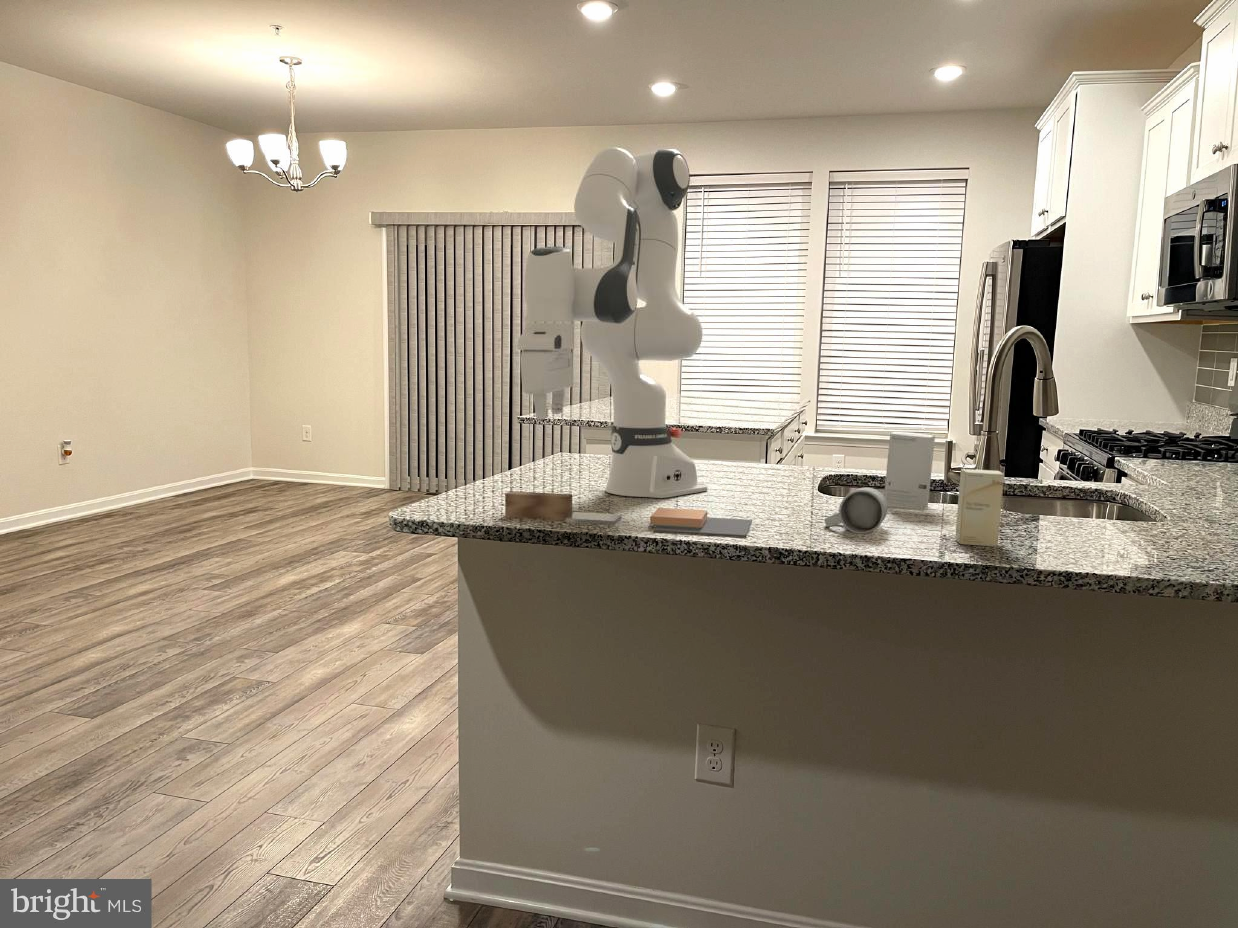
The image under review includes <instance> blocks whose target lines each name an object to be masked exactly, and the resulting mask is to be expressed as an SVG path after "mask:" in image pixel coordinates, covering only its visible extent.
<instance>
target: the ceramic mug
mask: <svg viewBox="0 0 1238 928" xmlns="http://www.w3.org/2000/svg"><path fill="white" fill-rule="evenodd" d="M888 508H889V507H888V506H887V502H886V499H885V498H884V494H882V493H881V492H880V491H879V490H877V489H875V488H872V487H860V488H857V489H855V490H853V491H851V492H849V493H847V494H846V495H845V496H844V497H843V498H842V500H841V501H840V504H839V508H838V512H836V513H834V514H832V515H829V516H826V517H825V518H824V523H825V527H827V528H829V527H834V526H837V525H840V524H842V525H843V526H844V527H845V528H846V529H847V530H848V531H849V532H851V533H855V534H857V535H867V534H871V533H873V532H876V530H877V529H878V528H879V527H880V526H881V525H882V523H883V521H884V520H885V519H886V516H887V514H888V510H889V509H888Z"/></svg>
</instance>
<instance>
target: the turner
mask: <svg viewBox="0 0 1238 928" xmlns="http://www.w3.org/2000/svg"><path fill="white" fill-rule="evenodd" d="M504 500H505V502H504V504H505V507H504V508H505V509H504V510H505V511H504V512H505V513H504V514H505V518H518V519H534V520H551V521H565V523H568V524H569V523H570V524H587V525H603V526H604V525H605V526H616V524H618V523H619V522H620V521H621V520H622V518H623V517H622V516H623V514H620V513H619V514H617V513H615V514H614V513H597V512H580V511H574V512H573V494H572V493H571V494H569V493H554V492H553V493H552V492H532V491H531V492H530V491H518V490H517V491H513V490H510V491H508V492H506V493H505V495H504Z"/></svg>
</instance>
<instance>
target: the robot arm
mask: <svg viewBox="0 0 1238 928" xmlns="http://www.w3.org/2000/svg"><path fill="white" fill-rule="evenodd" d="M690 180H691V174H690V169H689V166H688V163H687V160H686V159H685V157H684V155H683V154H682V153H680V151H678V150H677V149H674V148H673V149H672V148H664V149H663V148H662V149H658V150H657V151H651V152H645V153H641V154H640V153H639V154H636V155H632V154H631V153H630V152H628V151H627V150H626V149H623V148H619V147H614V146H613V147H608V148H604V149H602V150H601V151H599V152H598V153H597V154H596V156H595V157H594V158H593V160H592V161H591V163H590V164H589V166H588V167H587V169H586V171H585V172H584V175H583V177H582V179H581V182H580V184H579V187H578V189H577V192H576V195H575V198H574V205H573V206H574V213H575V214H574V215H575V217H576V220H577V221H578V223H579V225H580V226H581V228H583V229H584V230H585V231H586V232H587V233H589V234H590V235H591V236H593V237H595V238H597V239H600V240H604V241H608V242H612V243H613V244H615V247H614V255H613V263H612V264H610V265H608V266H603V267H600V268H599V267H598V268H595V267H593V268H592V267H591V268H590V267H589V268H585V267H584V268H578V267H577V268H576V267H575V265H573V258H572V252H571V250H570V249H569V248H567V247H565V246H547V247H544V246H543V247H536V248H533V249H532V250H530V251H529V252H528V255H527V259H526V263H525V272H524V292H523V293H524V300H525V303H526V314H525V317H524V329H523V332H522V334H520V336H518V339H517V347H518V350H519V351H521V354H520V373H521V374H520V375H521V376H520V377H521V384H522V389H523V392H524V394H525V395H532V401H533V405H534V408H535V419H537V420H545V419H547V418H548V417H549V414H548V413H549V408H547V400H548V394H550V393H551V394H552V403H551V413H552V414H553V415H560V414H562V413H563V411H564V408H563V407H564V400H565V396H566V389H569V388H571V387H573V384H574V367H573V366H574V363H573V362H574V361H573V352H572V350H573V349H575V322H576V321H577V322H582V324H581V326H580V340H581V344H582V346H583V348H584V350H585V351H586V353H588V354H589V356H591V357H592V358H593V359H594V360H595V361H597V362H598V364H600V366H601V368H602V369H603V371H604V372H605V374H606V376H607V378H608V381H609V383H610V388H611V392H612V393H611V394H612V403H613V404H612V405H613V406H612V407H613V409H612V410H613V425H612V426H611V431H610V433H611V436H610V440H611V441H610V443H611V444H610V445H611V451H612V453H611V461H610V470H609V474H608V478H607V482H606V485H605V490H604V491H605V492H606V493H608V494H609V493H610V494H614V495H617V496H623V497H625V496H626V497H639V498H641V497H642V498H644V497H645V498H654V499H655V498H657V499H666V498H672V497H677V496H683V495H688V494H695V493H700V492H701V493H702V492H707V491H708V485H706V483H703V482H701V481H700V482H699V481H698V475H697V473H698V471H697V467H696V464H695V462H694V461H693V459H691V458H690V457H689V456H688V455H687V454H685V453H684V452H683V451H682V450H681V449H680V448H678V447H677V446H676V445H675V444H673V443H672V442H673V440H672V438H676V439H679V438H681V436H682V430H681V429H680V428H675V427H672V428H669V427H668V426H666V413H667V411H666V410H667V405H666V403H667V402H666V401H667V395H666V390H665V389H664V387H663V386H662V384H660V382H658V381H657V380H655V379H653V378H652V377H649V376H647V375H646V374H644V373H643V371H642V370H641V367H640V361H661V362H662V361H663V362H666V361H667V362H671V361H678V360H684V359H688V358H692V357H694V355H695V354H696V353H697V352H698V350H699V349H700V346H701V345H702V341H703V326H702V324H701V321H700V319H699V317H698V316H697V315H696V314H695V312H694V311H691V310H690V309H689V308H688V307H687V306H686V305H685V304H683V302H682V300H681V299H680V297H679V295H678V293H677V288H676V272H677V271H676V269H677V259H678V252H679V226H678V225H679V224H678V218H677V215H676V213H675V212H674V211H676V210H678V209H679V208H680V207H681V204H682V202H683V199H684V198H686V194H687V192H688V189H689V186H690ZM638 300H641V301H642V302H644V303H646V304H645V305H644V306H641V307H637V305H638Z"/></svg>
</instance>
